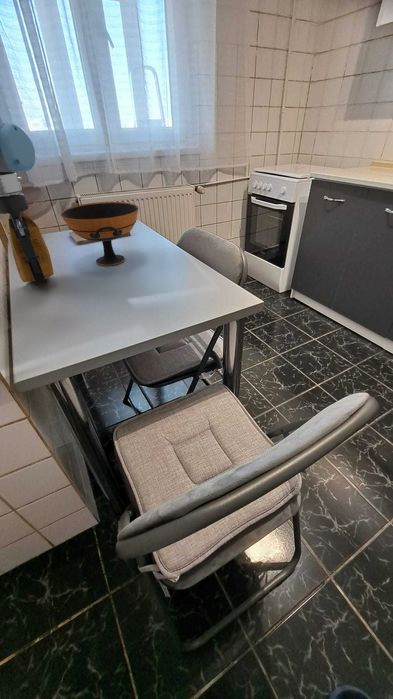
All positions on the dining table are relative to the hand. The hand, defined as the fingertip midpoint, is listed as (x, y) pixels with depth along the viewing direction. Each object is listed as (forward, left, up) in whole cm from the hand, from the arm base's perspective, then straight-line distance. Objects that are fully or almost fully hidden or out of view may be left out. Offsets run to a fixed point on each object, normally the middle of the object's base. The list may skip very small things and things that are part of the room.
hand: (41, 282), depth 87 cm
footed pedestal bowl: (+25, +15, -4) cm, 29 cm away
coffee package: (0, +6, -2) cm, 7 cm away
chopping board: (+31, +50, -3) cm, 59 cm away
